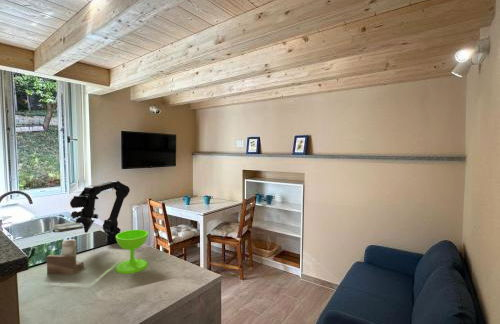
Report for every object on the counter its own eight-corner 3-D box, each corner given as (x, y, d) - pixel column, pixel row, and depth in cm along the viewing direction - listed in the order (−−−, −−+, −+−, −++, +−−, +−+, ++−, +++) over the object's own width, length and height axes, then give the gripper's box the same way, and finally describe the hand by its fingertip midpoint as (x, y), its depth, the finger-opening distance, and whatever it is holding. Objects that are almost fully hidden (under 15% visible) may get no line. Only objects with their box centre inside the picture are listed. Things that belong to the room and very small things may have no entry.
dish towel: (78, 223, 215) (78, 219, 215) (83, 228, 203) (83, 224, 202) (50, 227, 202) (50, 223, 202) (53, 233, 190) (53, 229, 189)
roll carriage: (67, 263, 140) (67, 237, 139) (83, 264, 140) (83, 238, 139) (54, 271, 131) (53, 243, 130) (71, 272, 131) (71, 244, 130)
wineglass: (150, 269, 139) (150, 236, 138) (117, 276, 130) (117, 241, 129) (144, 258, 152) (145, 228, 151) (114, 263, 144) (114, 232, 143)
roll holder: (72, 259, 147) (72, 242, 147) (96, 260, 147) (96, 243, 146) (45, 276, 128) (45, 256, 128) (73, 277, 128) (72, 257, 128)
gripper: (80, 204, 165) (77, 229, 164) (67, 207, 147) (63, 235, 146) (99, 205, 167) (97, 229, 166) (88, 208, 149) (85, 236, 148)
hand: (86, 232), depth 157 cm, fingers closed
